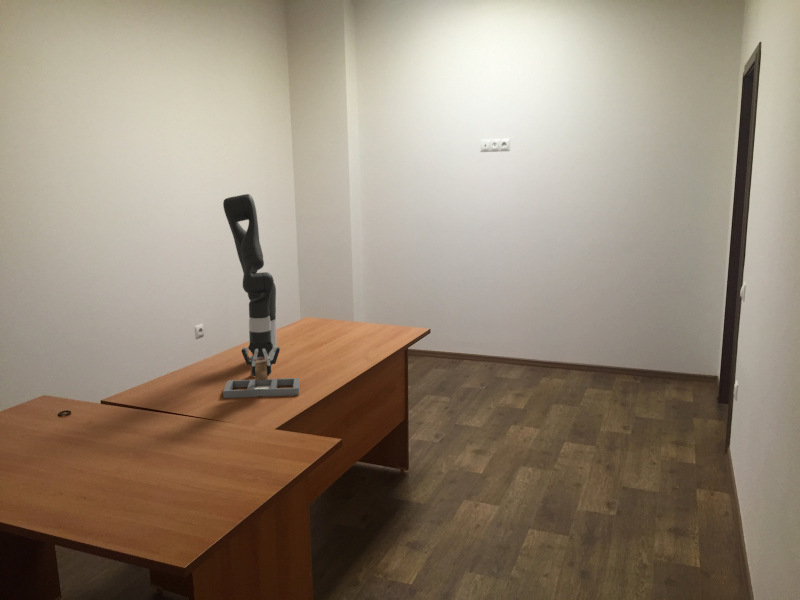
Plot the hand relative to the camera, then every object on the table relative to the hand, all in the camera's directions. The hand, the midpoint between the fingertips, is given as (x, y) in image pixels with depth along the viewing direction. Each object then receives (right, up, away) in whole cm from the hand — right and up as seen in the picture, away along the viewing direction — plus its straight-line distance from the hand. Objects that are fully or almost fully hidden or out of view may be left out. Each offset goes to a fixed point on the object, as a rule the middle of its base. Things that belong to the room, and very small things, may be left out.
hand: (261, 375), depth 229 cm
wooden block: (0, -1, 0) cm, 1 cm away
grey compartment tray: (0, -6, +1) cm, 6 cm away
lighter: (-5, -2, +20) cm, 21 cm away
